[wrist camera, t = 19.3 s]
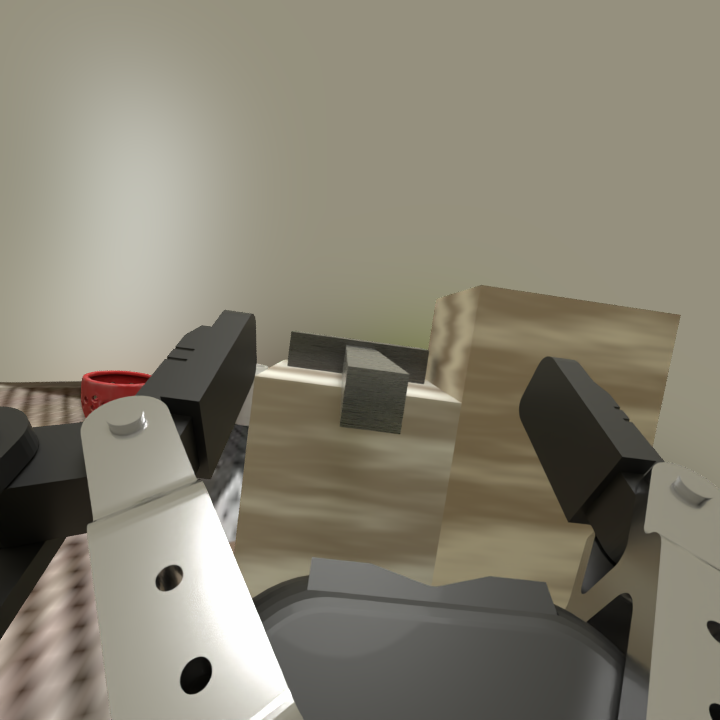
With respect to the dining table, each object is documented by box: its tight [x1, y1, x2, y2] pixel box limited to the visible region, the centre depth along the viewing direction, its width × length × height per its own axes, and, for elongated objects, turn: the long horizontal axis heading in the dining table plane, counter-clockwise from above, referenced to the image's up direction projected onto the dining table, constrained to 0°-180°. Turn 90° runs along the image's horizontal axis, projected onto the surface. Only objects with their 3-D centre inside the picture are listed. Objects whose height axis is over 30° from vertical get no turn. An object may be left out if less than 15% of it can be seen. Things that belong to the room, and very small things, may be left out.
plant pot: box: [81, 371, 152, 418], centre depth 75 cm, size 13×13×12 cm
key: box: [287, 331, 429, 434], centre depth 25 cm, size 20×12×3 cm, turn 2°
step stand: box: [234, 285, 680, 609], centre depth 32 cm, size 12×28×32 cm, turn 92°
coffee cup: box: [235, 364, 268, 426], centre depth 95 cm, size 10×10×15 cm
